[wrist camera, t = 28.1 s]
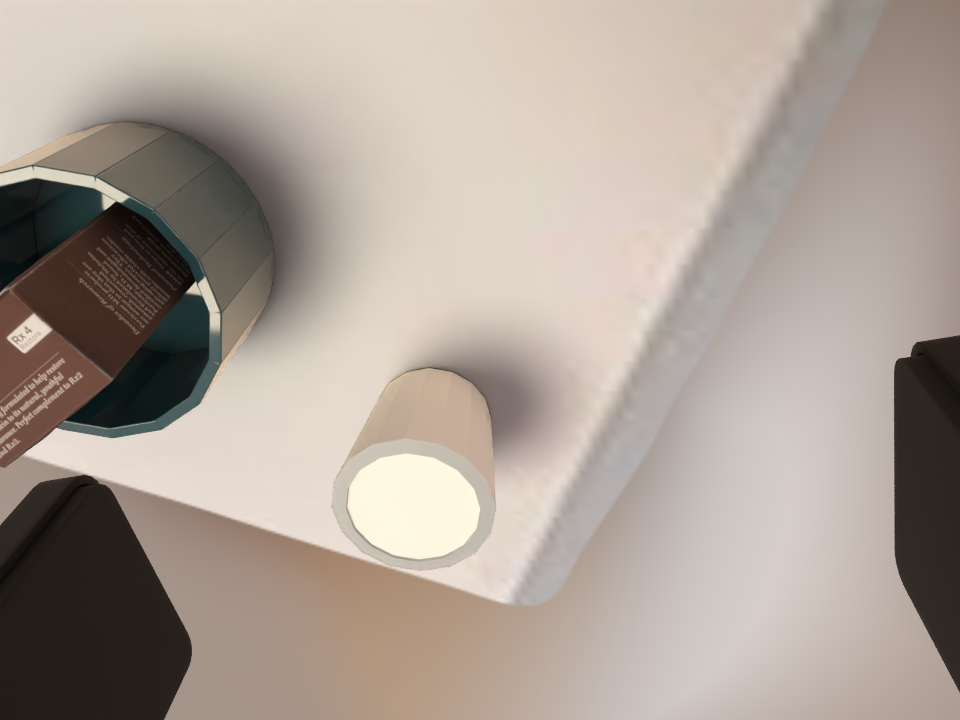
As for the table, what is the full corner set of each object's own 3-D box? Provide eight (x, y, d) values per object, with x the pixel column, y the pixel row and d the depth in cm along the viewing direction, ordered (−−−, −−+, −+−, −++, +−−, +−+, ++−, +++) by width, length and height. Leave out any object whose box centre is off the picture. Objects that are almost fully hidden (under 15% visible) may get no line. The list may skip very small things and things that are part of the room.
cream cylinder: (371, 475, 43) (341, 571, 36) (355, 356, 39) (319, 440, 33) (506, 476, 42) (498, 574, 36) (501, 355, 39) (492, 440, 33)
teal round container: (-16, 152, 36) (-131, 203, 30) (220, 95, 34) (148, 136, 28) (97, 372, 41) (17, 455, 35) (308, 332, 39) (263, 412, 33)
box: (149, 319, 38) (-2, 476, 28) (72, 245, 37) (-117, 381, 26) (239, 246, 36) (113, 385, 26) (162, 164, 35) (-5, 276, 24)
